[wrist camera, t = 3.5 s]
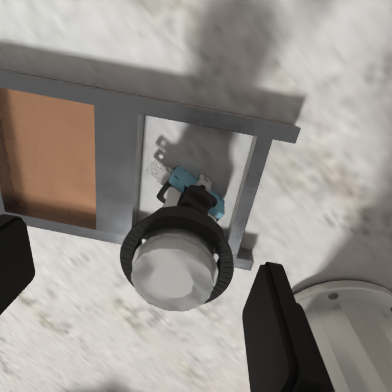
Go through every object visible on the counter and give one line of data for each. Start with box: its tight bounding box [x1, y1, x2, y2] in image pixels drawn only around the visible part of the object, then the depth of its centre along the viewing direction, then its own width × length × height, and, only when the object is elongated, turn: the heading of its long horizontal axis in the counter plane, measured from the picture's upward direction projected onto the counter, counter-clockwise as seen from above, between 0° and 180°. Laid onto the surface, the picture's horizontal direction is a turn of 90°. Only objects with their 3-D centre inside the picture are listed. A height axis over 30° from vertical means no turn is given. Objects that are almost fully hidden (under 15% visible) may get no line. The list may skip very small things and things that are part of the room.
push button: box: [120, 160, 234, 312], centre depth 14 cm, size 7×5×10 cm
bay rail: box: [0, 69, 301, 271], centre depth 18 cm, size 24×12×2 cm, turn 80°
